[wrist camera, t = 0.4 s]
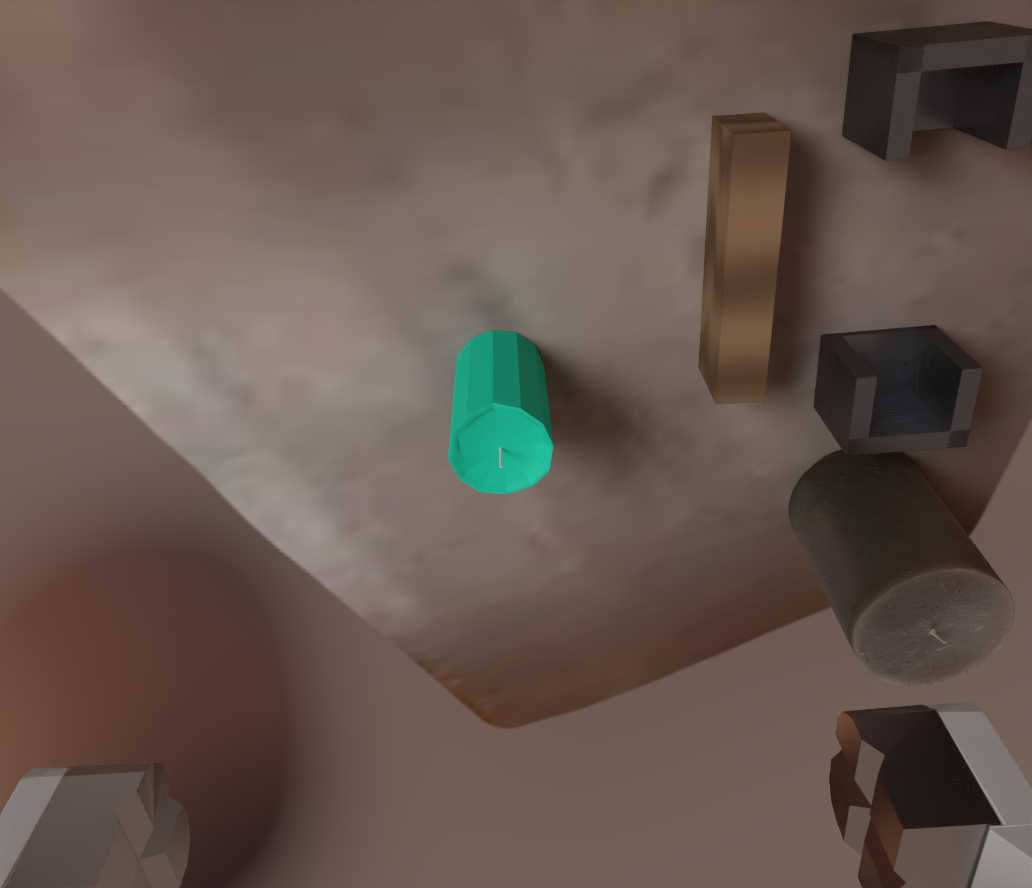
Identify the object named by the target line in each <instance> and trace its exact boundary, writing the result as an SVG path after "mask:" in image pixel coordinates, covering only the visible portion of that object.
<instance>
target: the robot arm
mask: <svg viewBox="0 0 1032 888" xmlns="http://www.w3.org/2000/svg"><path fill="white" fill-rule="evenodd" d="M835 734H836V737H837V739H838V742H839V744H840V746H841V749H842V750H841V751H840V752H839V753H838V754H837V755H835V756H834V757H833V758H832V759H831V766H830V775H829V783H830V793H831V802H832V806H833V810H834V814H835V817H836V821H837V824H838V826H839V829H840V832H841V835H842V837H843V840H844V841H845V842H846V843H847V844H848V845H850V846H851V847H852V848H853V849H854V850H856V851H857V852H858V853H859V854H861V855H862V856H861V861H860V867H859V872H858V879H859V881H860V884H861V886H862V888H1032V787H1031V785H1030V784H1029V782H1028V781H1027V779H1026V778H1025V776H1024V775H1023V773H1022V771H1021V770H1020V768H1019V767H1018V765H1017V764H1016V762H1015V761H1014V759H1013V758H1012V756H1011V754H1010V753H1009V751H1008V750H1007V748H1006V747H1005V745H1004V744H1003V742H1002V740H1001V739H1000V737H999V736H998V734H997V733H996V731H995V730H994V728H993V726H992V725H991V723H990V722H989V720H988V719H987V717H986V716H985V714H984V712H983V711H982V709H981V708H980V707H978V706H977V705H976V704H974V703H973V702H962V703H949V704H934V705H927V706H925V705H913V706H901V707H889V708H878V709H866V710H854V711H843V712H842V713H841V715H840V716H839V718H838V720H837V726H836V732H835ZM171 781H172V780H171V778H170V776H169V774H168V772H167V770H166V768H165V766H164V764H163V763H157V762H150V763H127V764H105V765H83V766H69V767H53V768H52V767H51V768H34V769H32V770H31V771H30V772H29V773H28V774H27V775H25V776H24V777H23V778H22V779H21V780H20V781H19V783H18V785H17V787H16V788H15V790H14V792H13V794H12V795H11V797H10V799H9V801H8V803H7V804H6V806H5V808H4V809H3V811H2V813H1V815H0V888H179V887H180V884H181V881H182V878H183V875H184V871H185V868H186V865H187V859H188V850H189V841H190V834H189V827H188V819H187V817H186V814H185V812H184V809H183V806H182V805H181V804H179V803H178V802H176V801H175V800H173V799H172V798H170V797H168V796H167V792H168V789H169V787H170V784H171Z"/></svg>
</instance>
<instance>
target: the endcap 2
mask: <svg viewBox="0 0 1032 888" xmlns="http://www.w3.org/2000/svg"><path fill="white" fill-rule="evenodd" d="M982 370H983V368H982V367H981V366H980V365H979V364H978V363H977V362H976V361H974V360H973V359H972V358H971V357H970V356H969V355H968V354H967V353H965V352H964V351H963V350H962V349H961V348H960V347H959V346H958V345H956V344H955V343H954V342H953V341H952V340H951V339H950V338H949V337H947V336H946V335H945V334H944V333H943V332H942V331H941V330H940V329H938V328H937V327H936V326H935V325H931V326H919V327H907V328H895V329H883V330H872V331H860V332H848V333H836V334H824V335H821V341H820V351H819V361H818V370H817V380H816V389H815V399H814V408H815V410H816V411H817V413H818V414H819V416H820V417H821V419H822V420H823V422H824V423H825V425H826V426H827V428H828V429H829V431H830V432H831V433H832V435H833V436H834V438H835V439H836V441H837V442H838V444H839V445H840V447H841V448H842V450H843V451H844V453H845V454H846V456H853V455H866V454H878V453H890V452H903V451H915V450H927V449H940V448H952V447H964V446H966V445H967V441H968V436H969V431H970V427H971V422H972V417H973V413H974V408H975V403H976V398H977V394H978V389H979V384H980V380H981V375H982Z"/></svg>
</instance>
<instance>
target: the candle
mask: <svg viewBox="0 0 1032 888" xmlns="http://www.w3.org/2000/svg"><path fill="white" fill-rule="evenodd" d="M552 452H553V437H552V429H551V420H550V412H549V403H548V395H547V386H546V378H545V369H544V364H543V362H542V360H541V358H540V355H539V353H538V351H537V348H536V346H535V345H533V344H532V343H531V342H529V341H528V340H526V339H525V338H523V337H522V336H521V335H519V334H518V333H515V332H506V331H497V330H492V331H489V332H487V333H484V334H482V335H479V336H477V337H474V338H472V339H470V341H469V342H468V343H467V345H466V346H465V347H464V348H463V350H462V351H461V352H460V353H459V355H458V356H457V363H456V373H455V384H454V395H453V407H452V419H451V431H450V442H449V454H448V460H449V462H450V464H451V465H452V467H453V469H454V471H455V472H456V474H457V476H458V478H459V479H460V480H461V481H463V482H465V483H466V484H468V485H470V486H471V487H473V488H475V489H476V490H478V491H480V492H481V493H503V494H509V493H512V492H515V491H519V490H522V489H525V488H529V487H532V486H534V485H535V484H536V483H537V482H538V481H539V480H540V479H541V478H542V477H543V476H544V475H545V474H546V473H548V472H549V471H550V465H551V459H552Z"/></svg>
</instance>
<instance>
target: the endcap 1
mask: <svg viewBox="0 0 1032 888" xmlns="http://www.w3.org/2000/svg"><path fill="white" fill-rule="evenodd" d="M943 128H955V129H958V130H960V131H962V132H965V133H967V134H970V135H972V136H974V137H977V138H979V139H981V140H984V141H986V142H989V143H991V144H993V145H996V146H998V147H1000V148H1003V149H1005V150H1011V149H1022V148H1030V144H1031V139H1032V29H1029V28H1023V27H1018V26H1012V25H1006V24H1001V23H995V22H989V21H986V22H975V23H965V24H954V25H943V26H932V27H922V28H911V29H900V30H889V31H878V32H868V33H857V34H853V36H852V46H851V55H850V65H849V74H848V84H847V93H846V103H845V113H844V122H843V132H842V136H844V137H845V138H847V139H849V140H851V141H852V142H854V143H856V144H857V145H859V146H861V147H863V148H864V149H866V150H868V151H870V152H871V153H873V154H875V155H876V156H878V157H880V158H882V159H883V160H885V161H888V160H899V159H909V154H910V147H911V140H912V133H913V131H921V130H932V129H943Z"/></svg>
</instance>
